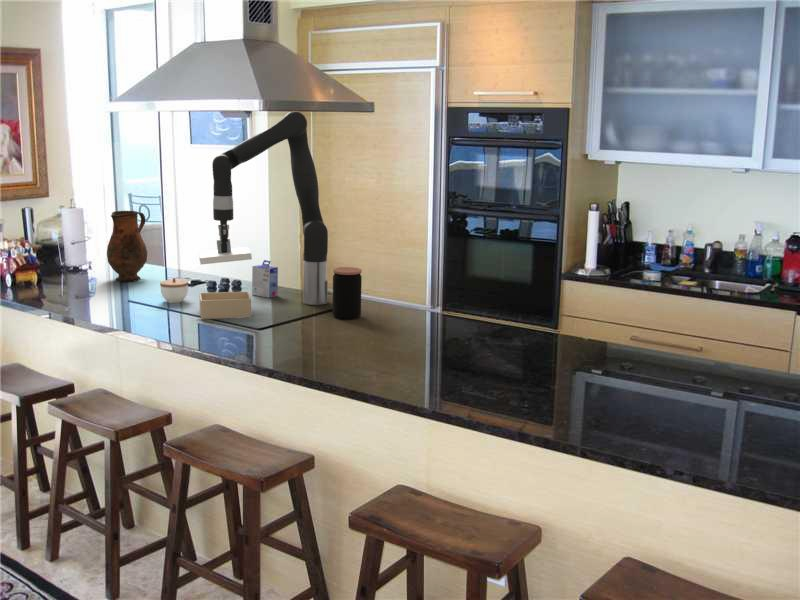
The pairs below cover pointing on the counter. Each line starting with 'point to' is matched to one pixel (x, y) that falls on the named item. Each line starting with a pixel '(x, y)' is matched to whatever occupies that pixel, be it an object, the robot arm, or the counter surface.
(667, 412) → the counter surface
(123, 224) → the pitcher
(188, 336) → the counter surface
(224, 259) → the lid
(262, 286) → the ink cartridge box
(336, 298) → the coffee jar
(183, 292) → the lidded jar
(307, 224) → the robot arm
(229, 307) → the base
